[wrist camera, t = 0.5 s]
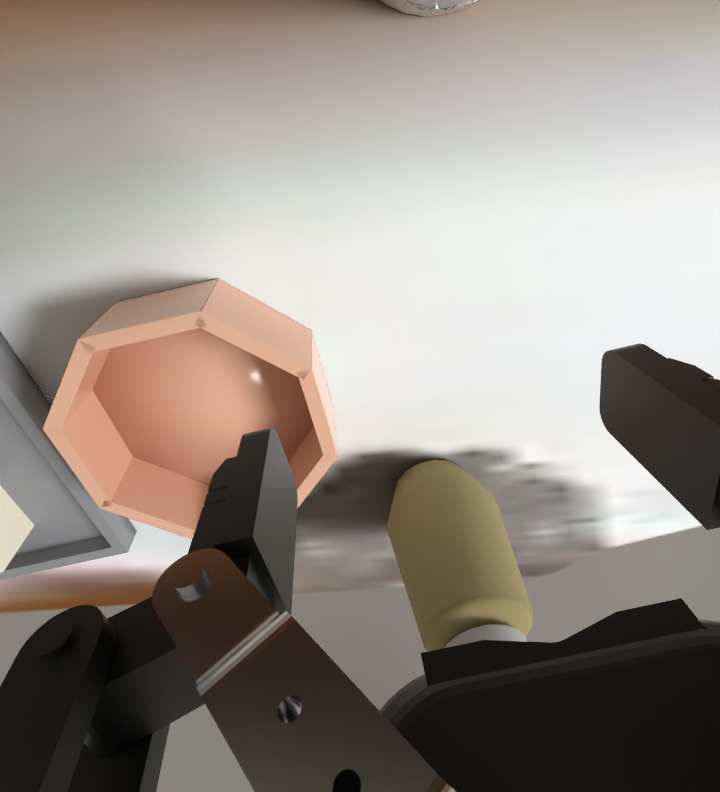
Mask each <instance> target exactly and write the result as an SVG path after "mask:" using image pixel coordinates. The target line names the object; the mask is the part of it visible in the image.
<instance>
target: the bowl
mask: <svg viewBox="0 0 720 792" xmlns="http://www.w3.org/2000/svg"><path fill="white" fill-rule="evenodd" d="M272 427H273V428H274V429H275V430H276V432H277V434H278V436H279V439H280V441H281V444H282V447H283V449H284V452H285V455H286V457H287V460H288V463H289V465H290V468H291V471H292V474H293V476H294V480H295V484H296V489H297V497H298V503H297V509H298V507H299V506H300V505H301V503H302V502H303V501H304V500H305V498H306V497H307V496H308V494H309V493H310V492H311V491H312V489H313V488H314V487H315V485H316V484H317V483H318V482H319V480H320V479H321V478H322V476H323V475H324V474H325V473H326V471H327V470H328V469H329V467H330V466H331V465H332V464H333V462H334V461H335V460H336V458H337V457H338V452H337V439H336V427H335V415H334V408H333V404H332V400H331V397H330V393H329V390H328V386H327V383H326V379H325V376H324V372H323V368H322V365H321V361H320V358H319V354H318V351H317V347H316V344H315V340H314V337H313V333H312V330H311V329H309V328H307V327H305V326H304V325H302V324H300V323H298V322H296V321H295V320H293V319H291V318H289V317H287V316H285V315H284V314H282V313H280V312H278V311H276V310H275V309H273V308H271V307H269V306H267V305H266V304H264V303H262V302H260V301H258V300H257V299H255V298H253V297H251V296H249V295H248V294H246V293H244V292H242V291H240V290H239V289H237V288H235V287H233V286H231V285H230V284H228V283H226V282H224V281H222V280H221V279H214V280H210V281H206V282H201V283H197V284H193V285H188V286H184V287H180V288H175V289H171V290H167V291H162V292H158V293H154V294H149V295H145V296H141V297H136V298H132V299H128V300H123V301H119V302H116V303H115V304H114V305H113V306H112V307H111V308H110V309H108V310H107V311H106V312H105V313H104V314H103V315H102V316H101V317H100V318H99V319H98V320H97V321H96V322H95V323H94V324H93V325H92V326H91V327H90V328H89V329H88V330H87V331H86V332H85V333H84V334H83V335H82V336H81V337H80V338H79V339H78V340H77V343H76V345H75V348H74V350H73V353H72V355H71V358H70V361H69V363H68V366H67V368H66V371H65V373H64V376H63V378H62V381H61V383H60V386H59V389H58V391H57V394H56V396H55V399H54V401H53V404H52V406H51V409H50V412H49V414H48V417H47V419H46V422H45V424H44V427H43V430H44V431H45V433H46V434H47V436H48V437H49V438H50V440H51V441H52V443H53V444H54V445H55V447H56V448H57V450H58V451H59V452H60V454H61V455H62V457H63V458H64V459H65V461H66V462H67V463H68V465H69V466H70V468H71V469H72V470H73V472H74V473H75V475H76V476H77V477H78V479H79V480H80V482H81V483H82V484H83V486H84V487H85V489H86V490H87V491H88V493H89V494H90V496H91V497H92V498H93V500H94V501H95V502H96V504H97V505H98V507H99V508H100V509H103V510H106V511H109V512H112V513H115V514H118V515H121V516H124V517H127V518H130V519H133V520H136V521H139V522H142V523H145V524H148V525H151V526H154V527H157V528H160V529H163V530H166V531H169V532H172V533H175V534H178V535H181V536H184V537H187V538H190V539H193V536H194V533H195V530H196V526H197V523H198V520H199V517H200V514H201V511H202V508H203V507H204V501H205V498H206V495H207V493H208V489H209V486H210V483H211V479H212V476H213V474H214V473H215V471H216V470H217V469H218V468H219V467H220V465H221V464H222V463H223V462H224V460H225V459H227V458H232V457H236V456H237V453H238V449H239V445H240V441H241V438H242V435H243V434H246V433H250V432H255V431H259V430H263V429H268V428H272Z"/></svg>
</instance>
